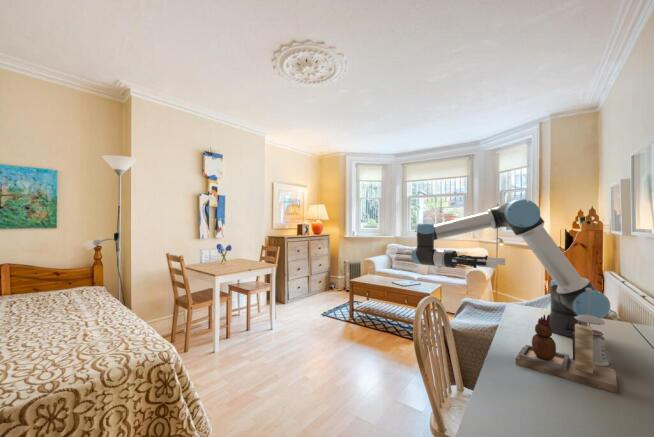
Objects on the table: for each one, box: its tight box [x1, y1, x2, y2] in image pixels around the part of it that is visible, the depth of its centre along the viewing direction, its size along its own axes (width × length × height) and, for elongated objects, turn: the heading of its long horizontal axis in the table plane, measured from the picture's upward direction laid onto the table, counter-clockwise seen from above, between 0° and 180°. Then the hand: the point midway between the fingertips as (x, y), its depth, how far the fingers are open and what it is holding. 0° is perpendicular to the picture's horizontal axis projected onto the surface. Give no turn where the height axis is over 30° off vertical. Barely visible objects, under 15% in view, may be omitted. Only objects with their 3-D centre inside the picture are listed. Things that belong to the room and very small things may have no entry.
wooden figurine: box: [531, 314, 557, 360], centre depth 96 cm, size 7×6×15 cm
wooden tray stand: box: [515, 324, 618, 394], centre depth 93 cm, size 24×13×15 cm, turn 46°
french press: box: [571, 288, 610, 367], centre depth 102 cm, size 10×12×25 cm
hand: (500, 263), depth 112 cm, fingers open, 13 cm apart
